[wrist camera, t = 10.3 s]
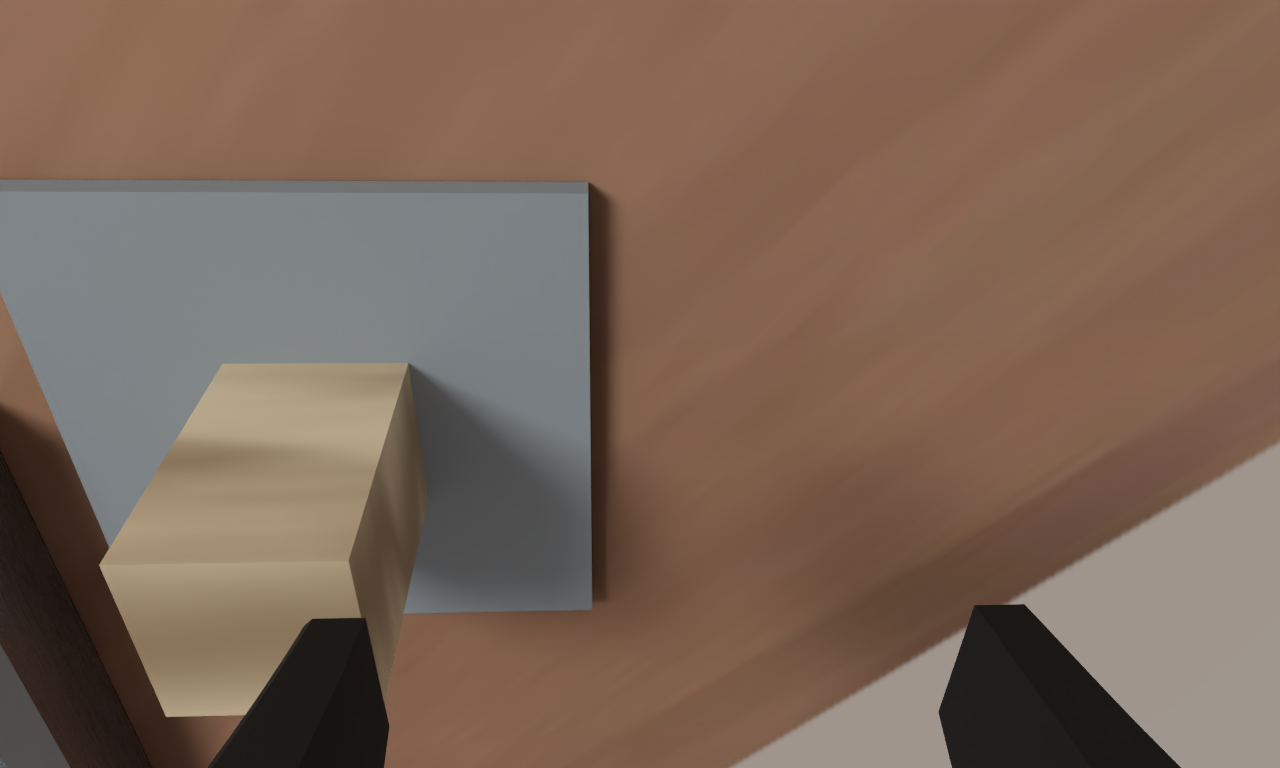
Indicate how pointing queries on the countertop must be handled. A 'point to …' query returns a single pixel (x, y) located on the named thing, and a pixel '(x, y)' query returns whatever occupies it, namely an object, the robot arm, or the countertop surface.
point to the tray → (50, 662)
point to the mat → (331, 343)
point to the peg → (272, 528)
